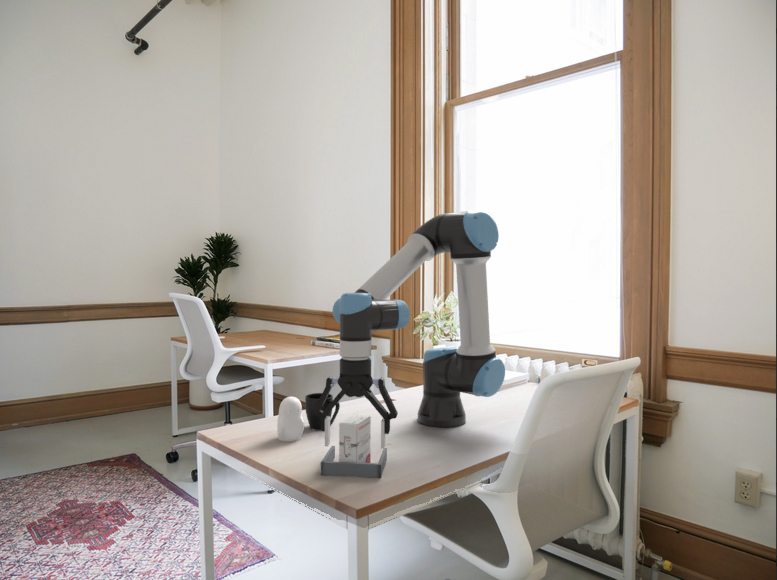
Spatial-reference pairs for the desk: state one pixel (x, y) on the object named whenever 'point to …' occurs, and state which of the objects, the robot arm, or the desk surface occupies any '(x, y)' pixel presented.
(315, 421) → the mug
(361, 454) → the ink box
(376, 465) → the grey u-shaped frame
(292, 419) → the figurine
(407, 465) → the desk surface
